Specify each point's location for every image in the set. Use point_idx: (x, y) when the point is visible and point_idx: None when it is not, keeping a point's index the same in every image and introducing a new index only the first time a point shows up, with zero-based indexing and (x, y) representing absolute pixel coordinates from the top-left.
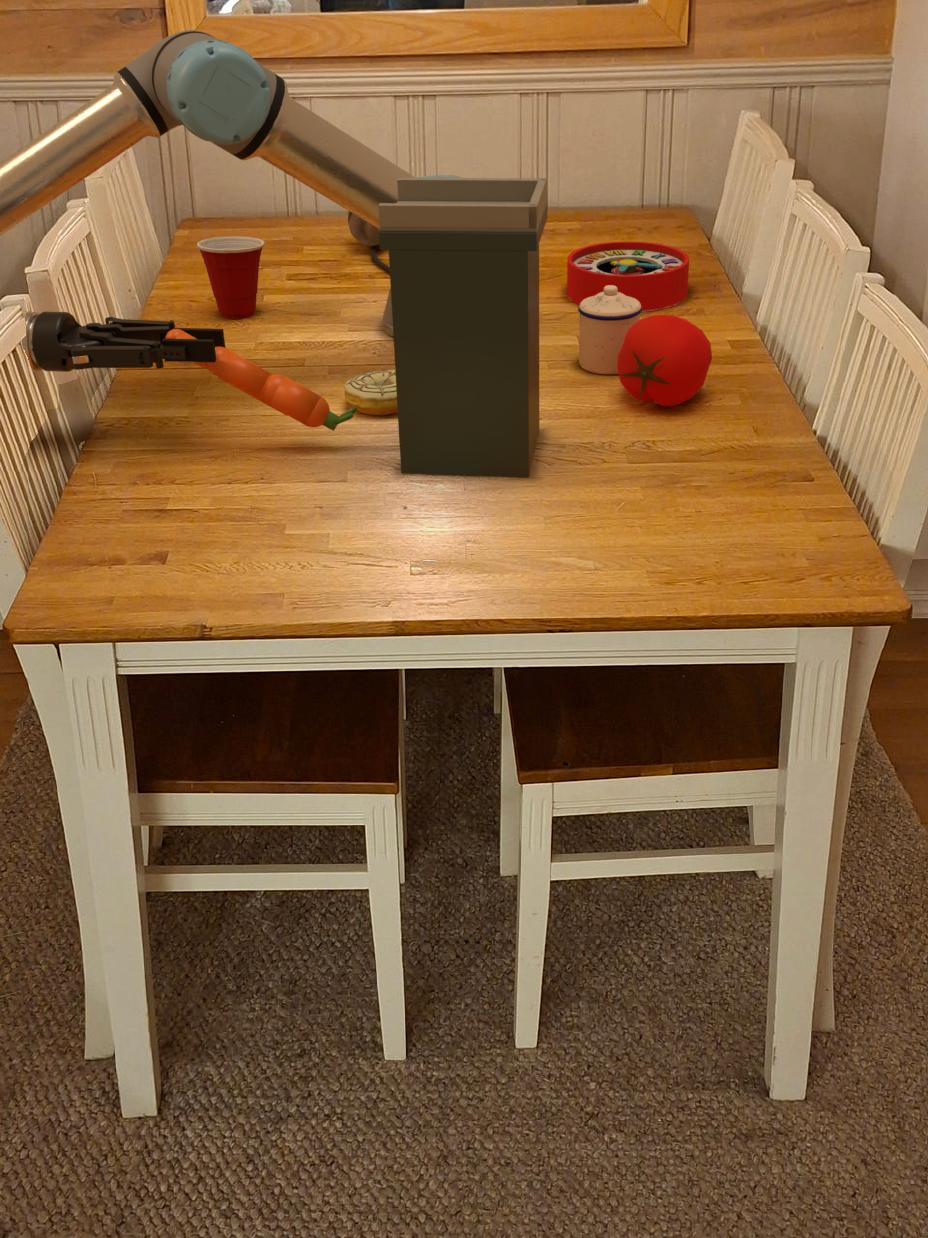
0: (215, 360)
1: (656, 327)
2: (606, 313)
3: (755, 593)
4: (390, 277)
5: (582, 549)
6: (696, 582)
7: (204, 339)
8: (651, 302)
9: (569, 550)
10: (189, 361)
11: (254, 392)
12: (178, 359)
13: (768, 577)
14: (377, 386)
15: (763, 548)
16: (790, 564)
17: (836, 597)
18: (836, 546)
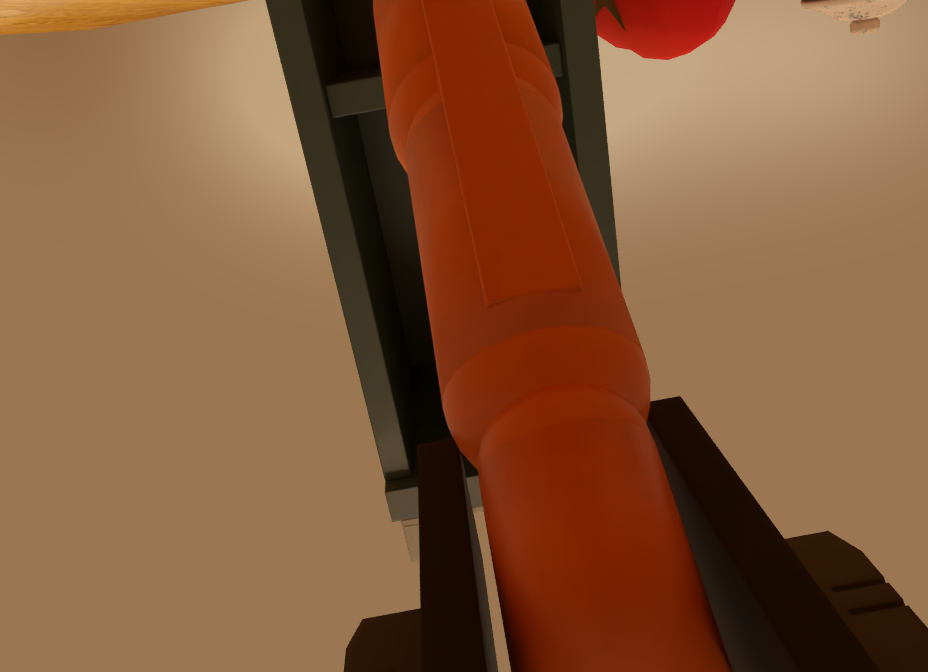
0: (436, 445)
1: (641, 56)
2: (812, 6)
3: (52, 26)
4: (373, 430)
5: (53, 5)
6: (42, 22)
7: (487, 599)
8: None
9: (39, 5)
10: (420, 565)
11: (410, 164)
12: (344, 669)
13: (96, 19)
14: None
15: (164, 6)
16: (137, 14)
17: (86, 26)
18: (198, 6)
